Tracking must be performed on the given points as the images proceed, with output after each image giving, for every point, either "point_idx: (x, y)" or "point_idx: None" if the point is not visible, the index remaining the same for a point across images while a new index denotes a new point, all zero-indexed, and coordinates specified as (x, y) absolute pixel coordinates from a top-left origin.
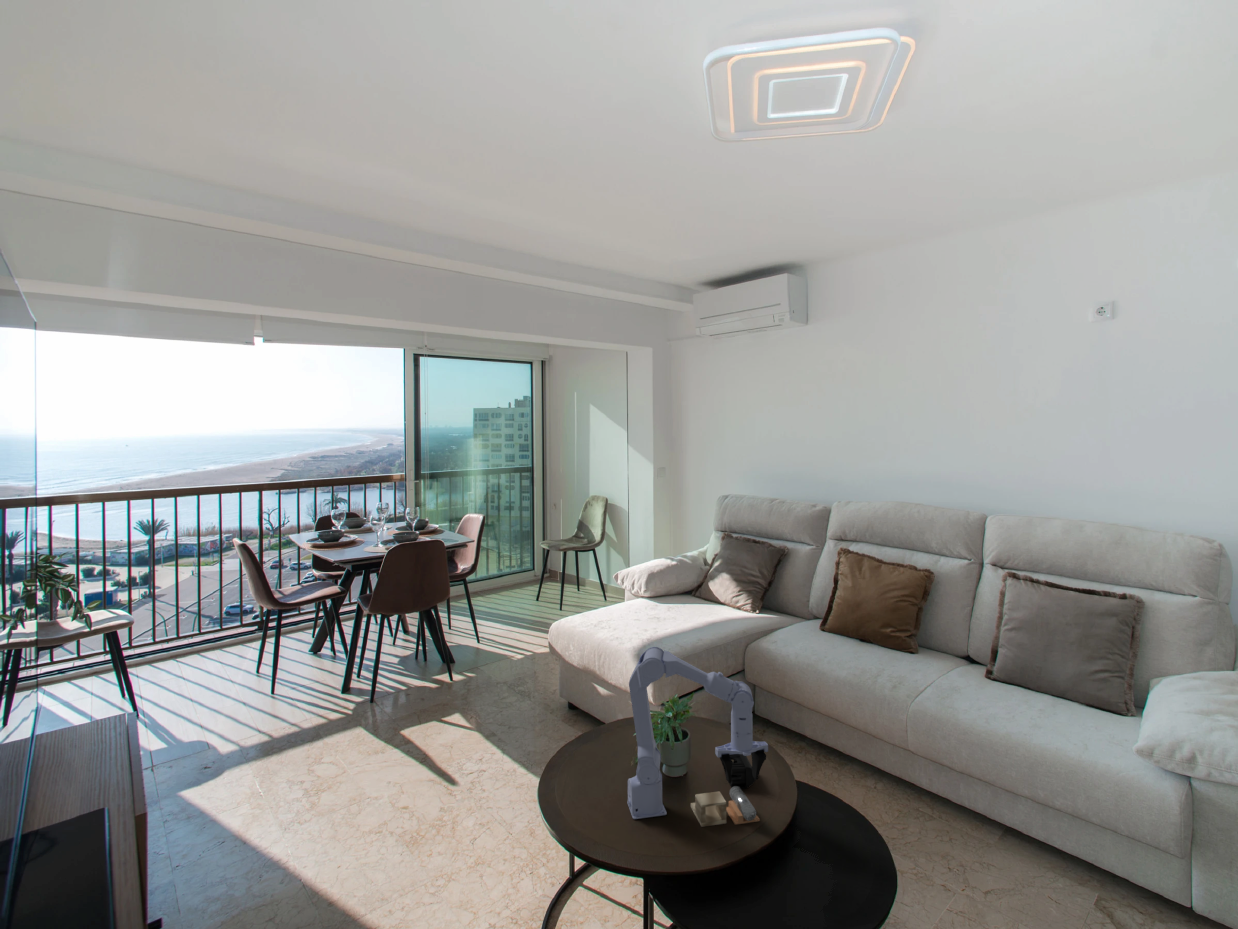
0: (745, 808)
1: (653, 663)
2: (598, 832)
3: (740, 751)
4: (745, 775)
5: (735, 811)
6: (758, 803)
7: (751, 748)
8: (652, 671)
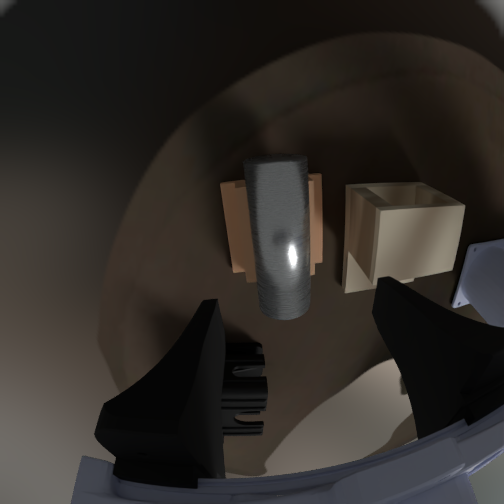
0: (300, 167)
1: None
2: None
3: (458, 474)
4: None
5: (313, 212)
6: (196, 278)
7: None
8: None
